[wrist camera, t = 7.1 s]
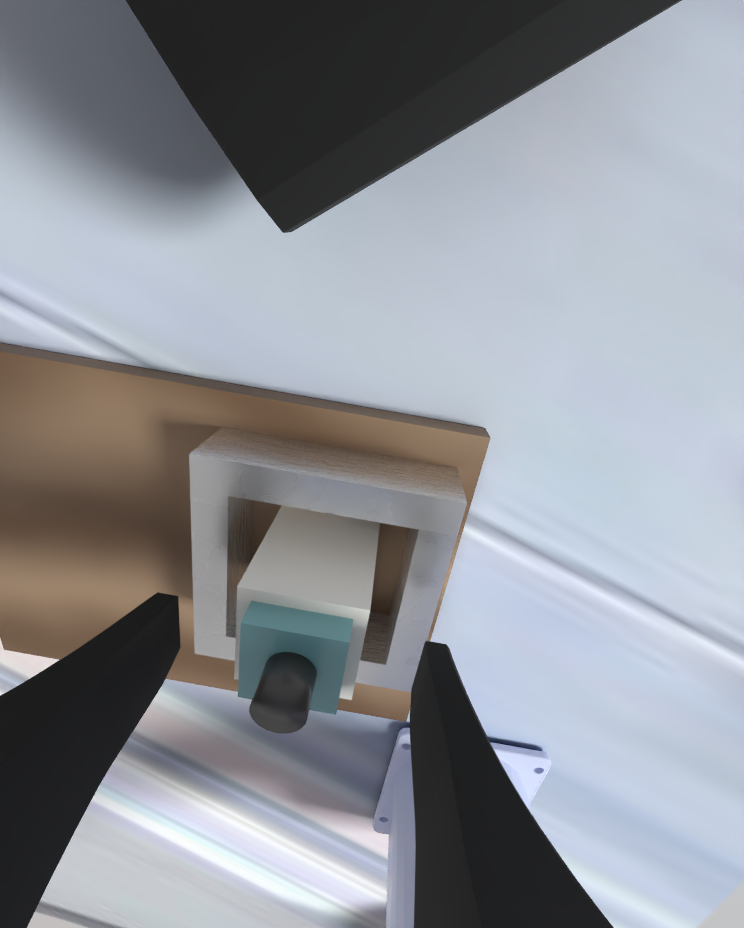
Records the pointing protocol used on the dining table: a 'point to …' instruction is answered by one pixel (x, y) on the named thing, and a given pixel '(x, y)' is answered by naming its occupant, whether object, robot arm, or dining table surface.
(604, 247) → the dining table surface
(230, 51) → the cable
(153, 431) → the board
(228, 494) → the end holder
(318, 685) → the connector plug
